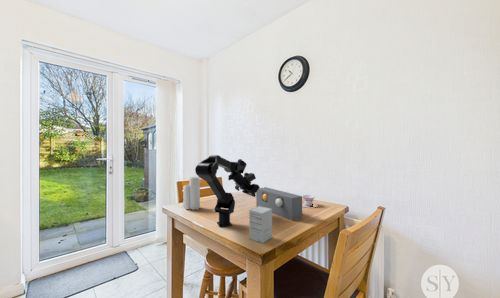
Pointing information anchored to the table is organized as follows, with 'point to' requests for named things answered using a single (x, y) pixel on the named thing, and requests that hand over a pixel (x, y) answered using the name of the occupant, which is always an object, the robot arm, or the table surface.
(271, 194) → the console
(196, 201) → the candle
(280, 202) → the cream button
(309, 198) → the teacup
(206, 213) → the table surface
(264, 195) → the orange button
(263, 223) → the supplement box
